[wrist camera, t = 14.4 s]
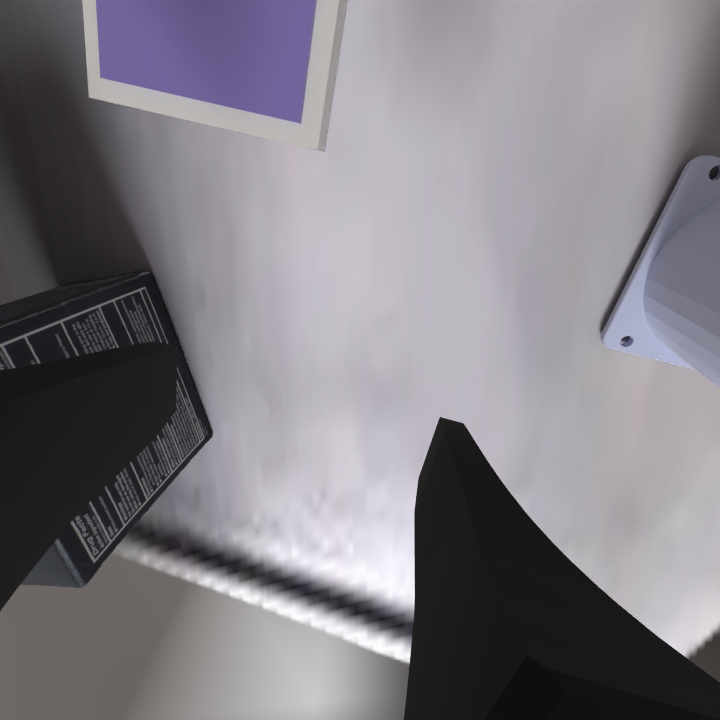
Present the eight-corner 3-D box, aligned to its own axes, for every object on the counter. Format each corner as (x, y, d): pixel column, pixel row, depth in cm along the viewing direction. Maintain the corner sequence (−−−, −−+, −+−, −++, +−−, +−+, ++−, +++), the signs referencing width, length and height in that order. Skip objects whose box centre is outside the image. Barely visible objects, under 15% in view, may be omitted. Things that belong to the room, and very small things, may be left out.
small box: (51, 284, 23) (-216, 362, 14) (153, 266, 22) (-68, 339, 12) (127, 444, 27) (-39, 590, 17) (217, 437, 25) (88, 593, 16)
